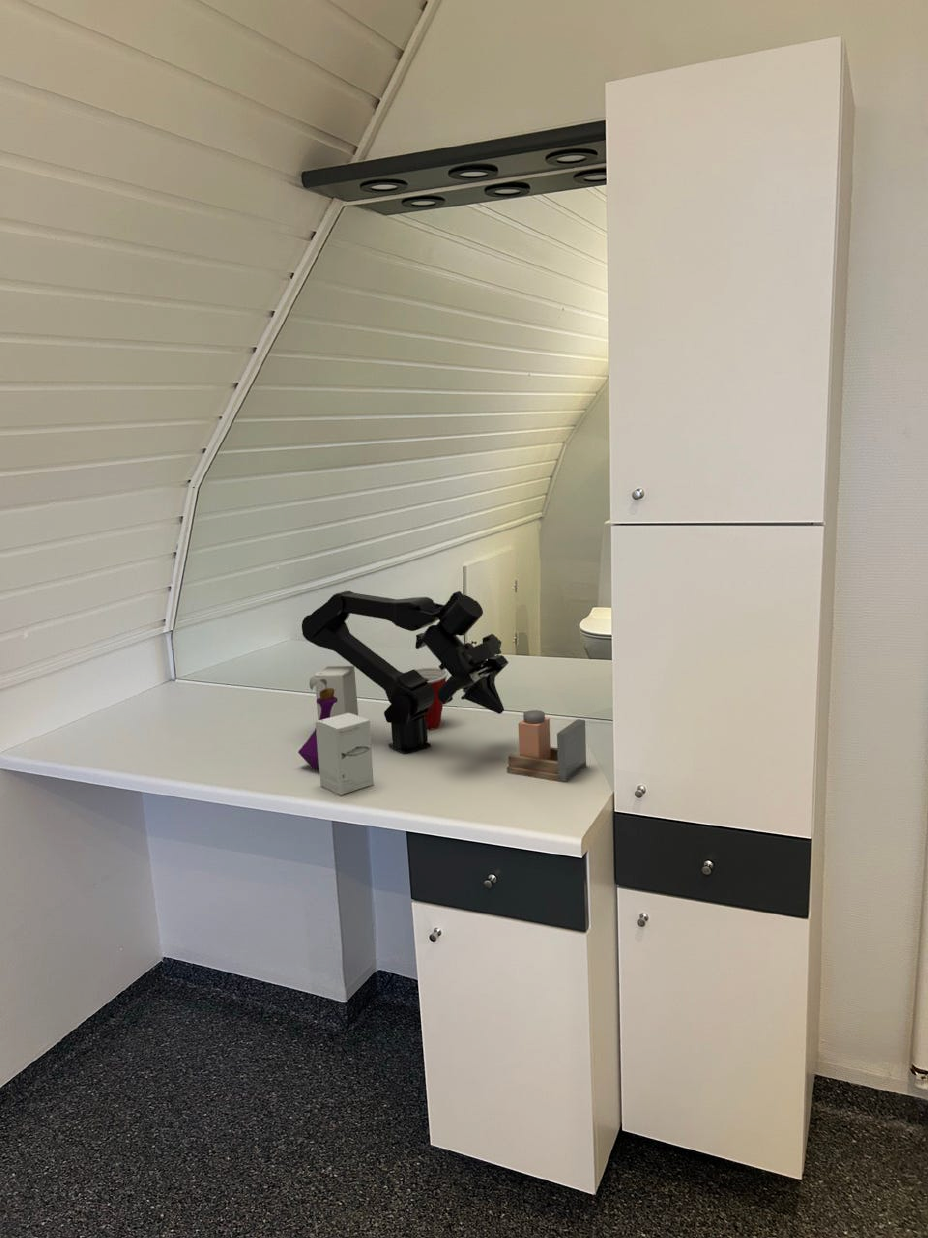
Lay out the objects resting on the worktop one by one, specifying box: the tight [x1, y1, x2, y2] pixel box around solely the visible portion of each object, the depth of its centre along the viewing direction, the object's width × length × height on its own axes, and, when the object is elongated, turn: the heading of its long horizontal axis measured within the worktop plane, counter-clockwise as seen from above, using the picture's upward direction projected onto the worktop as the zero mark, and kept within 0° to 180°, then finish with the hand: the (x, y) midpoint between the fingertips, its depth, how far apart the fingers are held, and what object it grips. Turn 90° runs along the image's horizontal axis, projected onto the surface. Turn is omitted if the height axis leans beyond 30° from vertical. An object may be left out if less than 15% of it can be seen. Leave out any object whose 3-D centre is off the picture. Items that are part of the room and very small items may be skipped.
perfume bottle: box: [297, 676, 338, 770], centre depth 181 cm, size 8×8×18 cm
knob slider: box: [518, 709, 552, 760], centre depth 175 cm, size 4×5×9 cm
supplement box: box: [315, 713, 375, 796], centre depth 171 cm, size 7×7×13 cm
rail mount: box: [506, 718, 587, 783], centre depth 174 cm, size 12×9×9 cm
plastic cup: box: [403, 666, 449, 731], centre depth 203 cm, size 11×11×12 cm
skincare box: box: [313, 665, 359, 721], centre depth 195 cm, size 8×7×16 cm
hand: (502, 712), depth 178 cm, fingers closed
